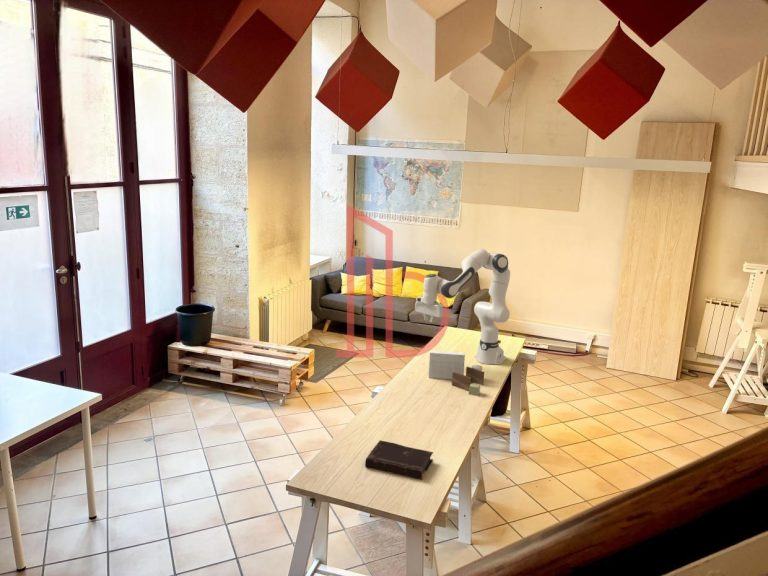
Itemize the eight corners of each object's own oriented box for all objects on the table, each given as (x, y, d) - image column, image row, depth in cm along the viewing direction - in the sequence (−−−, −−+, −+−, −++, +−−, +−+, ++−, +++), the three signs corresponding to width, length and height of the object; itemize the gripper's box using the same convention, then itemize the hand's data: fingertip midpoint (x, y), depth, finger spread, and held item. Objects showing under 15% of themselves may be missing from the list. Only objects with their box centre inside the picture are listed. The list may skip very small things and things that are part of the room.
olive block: (470, 391, 343) (471, 383, 342) (479, 393, 341) (480, 384, 340) (468, 394, 339) (469, 386, 338) (477, 396, 337) (478, 387, 336)
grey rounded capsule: (474, 376, 366) (475, 364, 365) (483, 379, 363) (484, 366, 361) (469, 379, 362) (470, 366, 360) (477, 381, 358) (478, 369, 356)
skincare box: (463, 377, 365) (465, 352, 361) (463, 380, 359) (465, 355, 356) (428, 374, 366) (430, 350, 363) (428, 377, 361) (429, 352, 358)
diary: (421, 481, 247) (421, 470, 245) (364, 469, 255) (365, 458, 253) (433, 460, 264) (433, 450, 262) (380, 449, 272) (380, 439, 271)
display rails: (466, 379, 362) (467, 366, 360) (483, 384, 354) (484, 371, 352) (451, 385, 351) (452, 372, 349) (468, 391, 343) (469, 378, 341)
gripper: (446, 302, 369) (444, 324, 372) (420, 296, 383) (419, 317, 386) (439, 303, 365) (438, 325, 368) (414, 297, 378) (412, 318, 381)
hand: (428, 321), depth 377 cm, fingers open, 2 cm apart
